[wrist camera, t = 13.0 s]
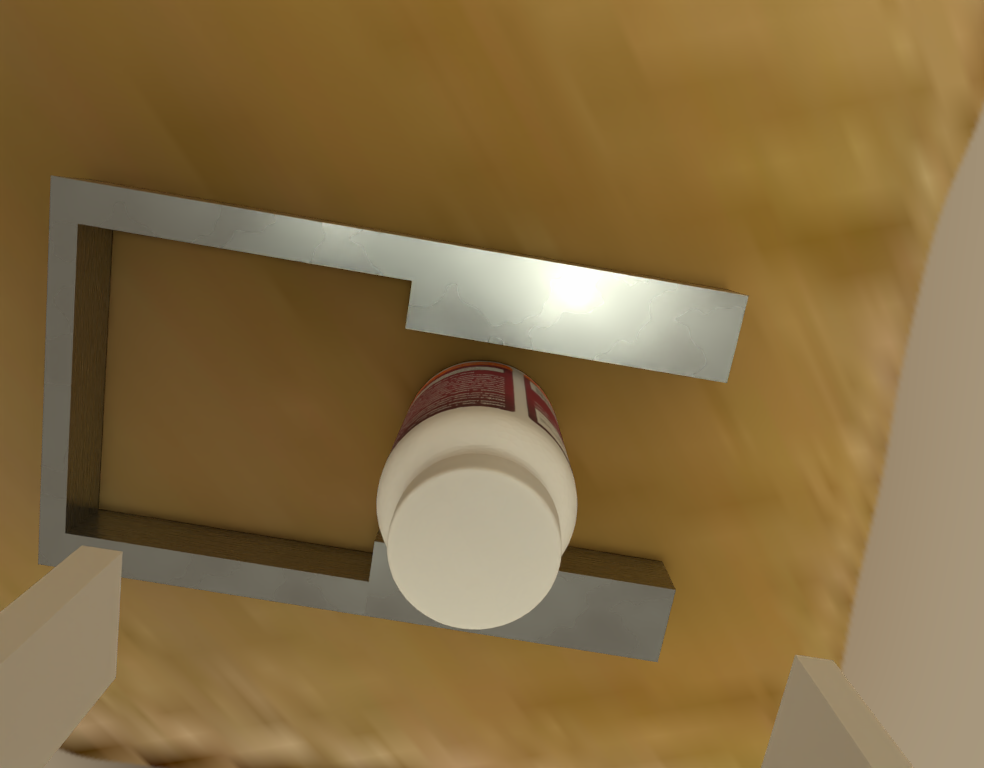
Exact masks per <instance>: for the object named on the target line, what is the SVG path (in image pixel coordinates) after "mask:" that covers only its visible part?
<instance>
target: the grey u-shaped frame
mask: <svg viewBox="0 0 984 768" xmlns="http://www.w3.org/2000/svg"><path fill="white" fill-rule="evenodd" d="M113 230H118V231H124V232H129V233H135V234H141V235H147V236H153V237H159V238H165V239H170V240H176V241H182V242H188V243H194V244H200V245H205V246H211V247H217V248H223V249H229V250H235V251H240V252H246V253H252V254H258V255H264V256H270V257H276V258H281V259H287V260H293V261H299V262H305V263H311V264H316V265H322V266H328V267H334V268H340V269H346V270H352V271H357V272H363V273H369V274H375V275H381V276H387V277H392V278H398V279H404V280H410V281H412V286H411V292H410V299H409V306H408V313H407V320H406V327H405V329H411V330H417V331H423V332H429V333H435V334H441V335H447V336H453V337H458V338H464V339H470V340H476V341H482V342H488V343H494V344H500V345H506V346H512V347H518V348H523V349H529V350H535V351H541V352H547V353H553V354H559V355H565V356H571V357H577V358H583V359H588V360H594V361H600V362H606V363H612V364H618V365H624V366H630V367H636V368H642V369H647V370H653V371H659V372H665V373H671V374H677V375H683V376H689V377H695V378H701V379H707V380H712V381H718V382H724V383H727V381H728V377H729V373H730V369H731V364H732V360H733V356H734V352H735V348H736V344H737V340H738V336H739V332H740V328H741V324H742V320H743V316H744V312H745V308H746V304H747V300H748V296H747V295H744V294H741V293H737V292H734V291H731V290H727V289H721V288H716V287H710V286H704V285H698V284H693V283H687V282H681V281H675V280H669V279H664V278H658V277H652V276H646V275H640V274H635V273H629V272H623V271H617V270H612V269H606V268H600V267H594V266H588V265H583V264H577V263H571V262H565V261H559V260H554V259H548V258H542V257H536V256H530V255H525V254H519V253H513V252H507V251H502V250H496V249H490V248H484V247H478V246H473V245H467V244H461V243H455V242H449V241H444V240H438V239H432V238H426V237H421V236H415V235H409V234H403V233H397V232H392V231H386V230H380V229H374V228H368V227H363V226H357V225H351V224H345V223H340V222H334V221H328V220H322V219H316V218H311V217H305V216H299V215H293V214H287V213H282V212H276V211H270V210H264V209H259V208H253V207H247V206H241V205H235V204H230V203H224V202H218V201H212V200H206V199H201V198H195V197H189V196H183V195H178V194H172V193H166V192H160V191H154V190H149V189H143V188H137V187H131V186H125V185H120V184H114V183H108V182H102V181H97V180H91V179H82V178H72V177H61V176H51V188H50V219H49V250H48V281H47V311H46V342H45V373H44V404H43V435H42V465H41V496H40V527H39V558H38V564H41V565H48V566H54V567H56V566H57V565H58V564H60V563H61V562H62V561H63V560H65V559H66V558H67V557H68V556H69V555H71V554H72V553H73V552H74V551H76V550H77V549H78V548H79V547H80V546H82V545H83V546H89V547H96V548H102V549H109V550H115V551H122V552H123V554H122V573H121V577H123V578H130V579H136V580H142V581H149V582H155V583H161V584H168V585H174V586H180V587H187V588H193V589H199V590H206V591H212V592H218V593H225V594H231V595H237V596H244V597H250V598H256V599H262V600H269V601H275V602H281V603H288V604H294V605H300V606H307V607H313V608H319V609H326V610H332V611H338V612H345V613H351V614H357V615H364V616H370V617H376V618H383V619H389V620H395V621H402V622H408V623H414V624H420V625H427V626H433V627H439V628H446V629H452V630H458V631H465V632H471V633H477V634H484V635H490V636H496V637H503V638H509V639H515V640H522V641H528V642H534V643H541V644H547V645H553V646H560V647H566V648H572V649H578V650H585V651H591V652H597V653H604V654H610V655H616V656H623V657H629V658H635V659H642V660H648V661H654V662H658V659H659V655H660V651H661V647H662V643H663V639H664V634H665V630H666V626H667V622H668V618H669V614H670V610H671V606H672V602H673V598H674V594H675V588H674V586H673V583H672V581H671V579H670V577H669V575H668V573H667V571H666V569H665V567H664V564H663V562H660V561H654V560H648V559H641V558H635V557H629V556H623V555H617V554H611V553H604V552H598V551H592V550H586V549H580V548H574V547H567V548H566V550H565V551H564V553H563V555H562V556H561V563H560V567H559V571H558V574H557V577H556V579H555V581H554V583H553V585H552V587H551V589H550V590H549V592H548V593H547V595H546V596H545V597H544V598H543V600H542V601H541V602H540V603H539V604H538V605H537V606H536V607H535V608H534V609H532V610H531V611H530V612H529V613H527V614H525V615H524V616H522V617H521V618H519V619H517V620H515V621H513V622H511V623H508V624H505V625H502V626H498V627H494V628H488V629H461V628H456V627H451V626H448V625H445V624H442V623H439V622H437V621H435V620H433V619H431V618H429V617H427V616H426V615H424V614H423V613H422V612H420V611H419V610H417V609H416V608H415V607H414V606H413V605H412V604H411V603H410V602H409V601H408V600H407V599H406V598H405V597H404V595H403V594H402V593H401V591H400V590H399V588H398V586H397V585H396V583H395V581H394V579H393V576H392V573H391V571H390V567H389V563H388V557H387V547H386V544H385V542H384V540H383V537H382V534H381V531H380V529H379V531H378V534H377V537H376V539H375V542H374V549H373V553H367V552H360V551H354V550H348V549H342V548H335V547H329V546H323V545H317V544H311V543H304V542H298V541H292V540H286V539H279V538H273V537H267V536H261V535H254V534H248V533H242V532H236V531H230V530H223V529H217V528H211V527H205V526H198V525H192V524H186V523H180V522H174V521H167V520H161V519H155V518H149V517H142V516H136V515H130V514H124V513H118V512H111V511H105V510H99V509H98V503H99V484H100V464H101V445H102V426H103V406H104V387H105V368H106V348H107V329H108V309H109V290H110V271H111V251H112V232H113Z"/></svg>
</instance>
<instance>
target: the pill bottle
mask: <svg viewBox="0 0 984 768" xmlns="http://www.w3.org/2000/svg"><path fill="white" fill-rule="evenodd" d="M376 505H377V518H378V523H379V528H380V531H381V534H382V537H383V540H384V542H385V544H386V547H387V557H388V563H389V567H390V571H391V573H392V576H393V579H394V581H395V583H396V585H397V586H398V588H399V590H400V591H401V593H402V594H403V595H404V597H405V598H406V599H407V600H408V601H409V602H410V603H411V604H412V605H413V606H414V607H415V608H416V609H417V610H419V611H420V612H422V613H423V614H424V615H426V616H427V617H429V618H431V619H433V620H435V621H437V622H439V623H442V624H445V625H448V626H451V627H456V628H461V629H488V628H494V627H498V626H502V625H505V624H508V623H511V622H513V621H515V620H517V619H519V618H521V617H522V616H524V615H525V614H527V613H529V612H530V611H531V610H532V609H534V608H535V607H536V606H537V605H538V604H539V603H540V602H541V601H542V600H543V598H544V597H545V596H546V595H547V593H548V592H549V590H550V589H551V587H552V585H553V583H554V581H555V579H556V577H557V574H558V571H559V567H560V563H561V556H562V555H563V553H564V551H565V550H566V548H567V546H568V544H569V542H570V539H571V537H572V534H573V531H574V527H575V523H576V516H577V493H576V487H575V481H574V476H573V472H572V469H571V466H570V463H569V459H568V456H567V452H566V449H565V446H564V443H563V439H562V436H561V432H560V429H559V426H558V422H557V419H556V415H555V412H554V410H553V408H552V405H551V403H550V401H549V400H548V398H547V396H546V395H545V393H544V392H543V390H542V389H541V388H540V387H539V386H538V385H537V384H536V383H535V382H534V381H533V380H532V379H531V378H530V377H528V376H527V375H526V374H524V373H523V372H521V371H519V370H518V369H516V368H514V367H511V366H509V365H506V364H502V363H499V362H492V361H469V362H463V363H460V364H456V365H453V366H451V367H449V368H446V369H445V370H443V371H441V372H439V373H438V374H436V375H435V376H434V377H432V378H431V379H430V380H429V381H428V382H427V383H426V384H425V385H424V386H423V387H422V388H421V390H420V391H419V392H418V394H417V395H416V397H415V398H414V400H413V402H412V404H411V405H410V407H409V410H408V413H407V415H406V417H405V419H404V422H403V424H402V426H401V429H400V431H399V433H398V435H397V438H396V440H395V442H394V445H393V447H392V450H391V452H390V454H389V456H388V458H387V461H386V464H385V466H384V469H383V471H382V475H381V478H380V481H379V486H378V491H377V500H376Z"/></svg>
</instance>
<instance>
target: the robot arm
mask: <svg viewBox="0 0 984 768" xmlns="http://www.w3.org/2000/svg"><path fill="white" fill-rule="evenodd" d="M122 554H123V552H122V551H115V550H109V549H102V548H96V547H89V546H83V545H82V546H80V547H79V548H78V549H77V550H76V551H74V552H73V553H72V554H71V555H69V556H68V557H67V558H66V559H65V560H63V561H62V562H61V563H60V564H58V565H57V566H56V567H55V568H54V569H52V570H51V571H50V572H49V573H47V574H46V575H45V576H44V577H43V578H41V579H40V580H39V581H38V582H36V583H35V584H34V585H33V586H32V587H30V588H29V589H28V590H27V591H25V592H24V593H23V594H22V595H21V596H19V597H18V598H17V599H16V600H14V601H13V602H12V603H11V604H10V605H8V606H7V607H6V608H5V609H3V610H2V611H1V612H0V768H43V767H44V766H45V765H46V764H47V762H48V761H49V760H50V759H51V757H52V756H53V755H54V754H55V752H56V751H57V750H58V749H59V747H60V746H61V745H62V744H63V742H64V741H65V740H66V739H67V738H68V736H69V735H70V734H71V733H72V731H73V730H74V729H75V728H76V726H77V725H78V724H79V723H80V721H81V720H82V719H83V718H84V716H85V715H86V714H87V713H88V711H89V710H90V709H91V708H92V706H93V705H94V704H95V703H96V702H97V700H98V699H99V698H100V697H101V695H102V694H103V693H104V692H105V690H106V689H107V688H108V687H109V685H110V684H111V683H112V682H113V680H114V679H115V678H116V664H117V646H118V628H119V609H120V591H121V573H122ZM761 768H914V767H913V766H912V764H911V763H910V762H909V760H908V759H907V758H906V757H905V755H904V754H903V753H902V751H901V750H900V749H899V747H898V746H897V745H896V743H895V742H894V740H893V739H892V738H891V737H890V735H889V734H888V733H887V731H886V730H885V729H884V727H883V726H882V725H881V723H880V722H879V721H878V719H877V718H876V717H875V715H874V714H873V713H872V712H871V710H870V709H869V707H868V706H867V705H866V704H865V702H864V701H863V699H862V698H861V697H860V695H859V694H858V693H857V691H856V690H855V689H854V687H853V686H852V685H851V683H850V682H849V681H848V679H847V678H846V677H845V675H844V674H843V673H842V671H841V670H840V669H839V668H838V666H837V665H836V664H835V662H834V661H833V660H827V659H820V658H813V657H807V656H800V655H795V658H794V661H793V664H792V668H791V671H790V674H789V678H788V681H787V684H786V688H785V691H784V694H783V697H782V701H781V704H780V707H779V711H778V714H777V717H776V721H775V724H774V727H773V730H772V734H771V737H770V740H769V744H768V747H767V750H766V754H765V757H764V760H763V764H762V767H761Z"/></svg>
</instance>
